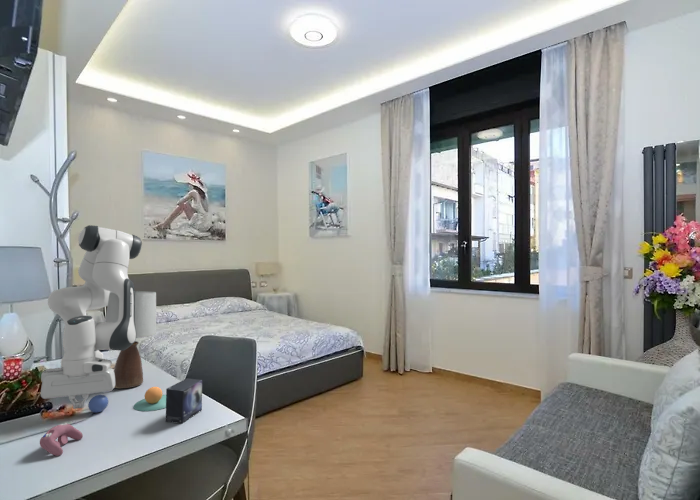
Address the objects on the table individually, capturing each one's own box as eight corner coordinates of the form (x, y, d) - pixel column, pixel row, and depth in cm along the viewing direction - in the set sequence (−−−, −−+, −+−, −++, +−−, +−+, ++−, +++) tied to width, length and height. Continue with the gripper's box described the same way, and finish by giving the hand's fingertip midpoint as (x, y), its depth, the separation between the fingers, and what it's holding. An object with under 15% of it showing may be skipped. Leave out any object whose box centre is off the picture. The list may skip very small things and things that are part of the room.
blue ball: (105, 389, 124) (115, 400, 127) (92, 392, 126) (102, 404, 128) (93, 402, 119) (104, 414, 122) (80, 406, 121) (91, 417, 123)
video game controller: (70, 444, 106) (58, 422, 105) (85, 436, 106) (74, 415, 106) (45, 463, 96) (32, 440, 95) (62, 455, 96) (49, 431, 96)
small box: (183, 424, 114) (183, 390, 114) (164, 422, 116) (164, 388, 116) (203, 410, 125) (203, 379, 125) (186, 408, 126) (186, 377, 126)
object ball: (167, 392, 134) (155, 405, 133) (156, 382, 134) (144, 394, 133) (163, 395, 129) (150, 408, 127) (151, 384, 129) (138, 397, 127)
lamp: (87, 387, 143) (95, 292, 146) (131, 376, 161) (136, 290, 163) (122, 394, 137) (129, 293, 140) (163, 381, 154) (169, 292, 157)
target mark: (131, 401, 133) (131, 400, 133) (174, 392, 141) (174, 392, 141) (135, 414, 121) (135, 414, 121) (181, 404, 129) (181, 404, 129)
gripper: (36, 372, 117) (36, 416, 117) (112, 365, 124) (111, 406, 124) (45, 366, 123) (45, 408, 122) (116, 360, 130) (116, 400, 129)
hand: (79, 407), depth 123 cm, fingers closed
